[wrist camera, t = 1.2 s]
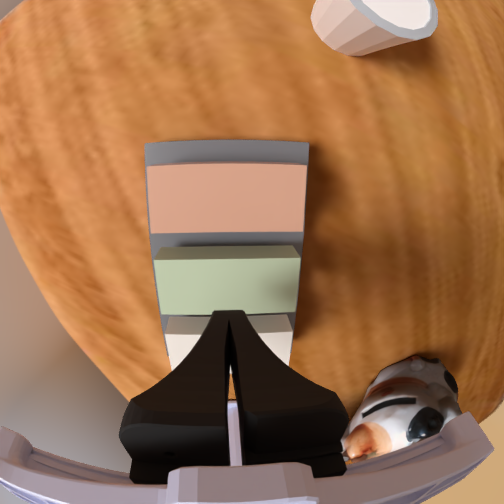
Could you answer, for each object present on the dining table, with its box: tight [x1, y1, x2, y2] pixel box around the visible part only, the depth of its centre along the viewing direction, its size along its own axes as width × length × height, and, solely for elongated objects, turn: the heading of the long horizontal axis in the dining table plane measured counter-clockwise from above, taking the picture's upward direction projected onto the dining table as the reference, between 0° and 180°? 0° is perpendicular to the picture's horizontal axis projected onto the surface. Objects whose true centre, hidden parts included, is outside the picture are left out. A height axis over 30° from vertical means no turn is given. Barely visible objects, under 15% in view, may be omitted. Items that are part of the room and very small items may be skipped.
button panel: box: [145, 140, 309, 356], centre depth 20 cm, size 16×10×2 cm, turn 179°
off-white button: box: [165, 314, 293, 374], centre depth 19 cm, size 4×8×2 cm, turn 89°
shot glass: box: [311, 0, 438, 56], centre depth 12 cm, size 7×7×7 cm
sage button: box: [154, 245, 301, 315], centre depth 17 cm, size 4×8×2 cm, turn 89°
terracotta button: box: [147, 161, 307, 234], centre depth 15 cm, size 4×8×2 cm, turn 89°
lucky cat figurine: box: [341, 355, 462, 463], centre depth 23 cm, size 15×12×14 cm
